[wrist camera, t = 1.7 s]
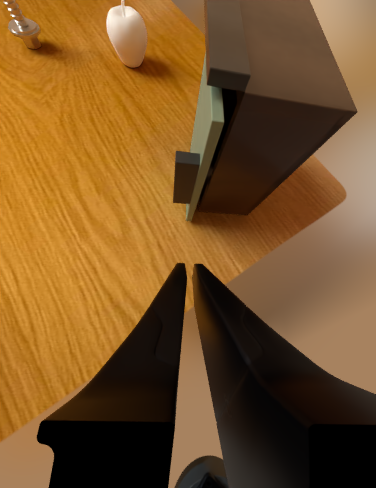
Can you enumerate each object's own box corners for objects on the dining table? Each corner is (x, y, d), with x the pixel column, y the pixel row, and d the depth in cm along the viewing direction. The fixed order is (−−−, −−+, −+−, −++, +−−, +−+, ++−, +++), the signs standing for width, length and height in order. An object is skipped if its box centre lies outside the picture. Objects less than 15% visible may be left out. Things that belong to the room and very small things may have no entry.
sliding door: (191, 221, 22) (224, 122, 9) (172, 220, 22) (177, 115, 9) (191, 171, 25) (218, 36, 12) (174, 169, 25) (181, 28, 11)
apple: (120, 75, 30) (104, 2, 23) (110, 52, 32) (91, -22, 24) (154, 71, 32) (150, 2, 24) (142, 50, 33) (135, -21, 26)
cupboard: (247, 215, 24) (373, 97, 9) (183, 210, 23) (209, 67, 8) (239, 139, 29) (315, -21, 14) (185, 132, 28) (205, -51, 13)
